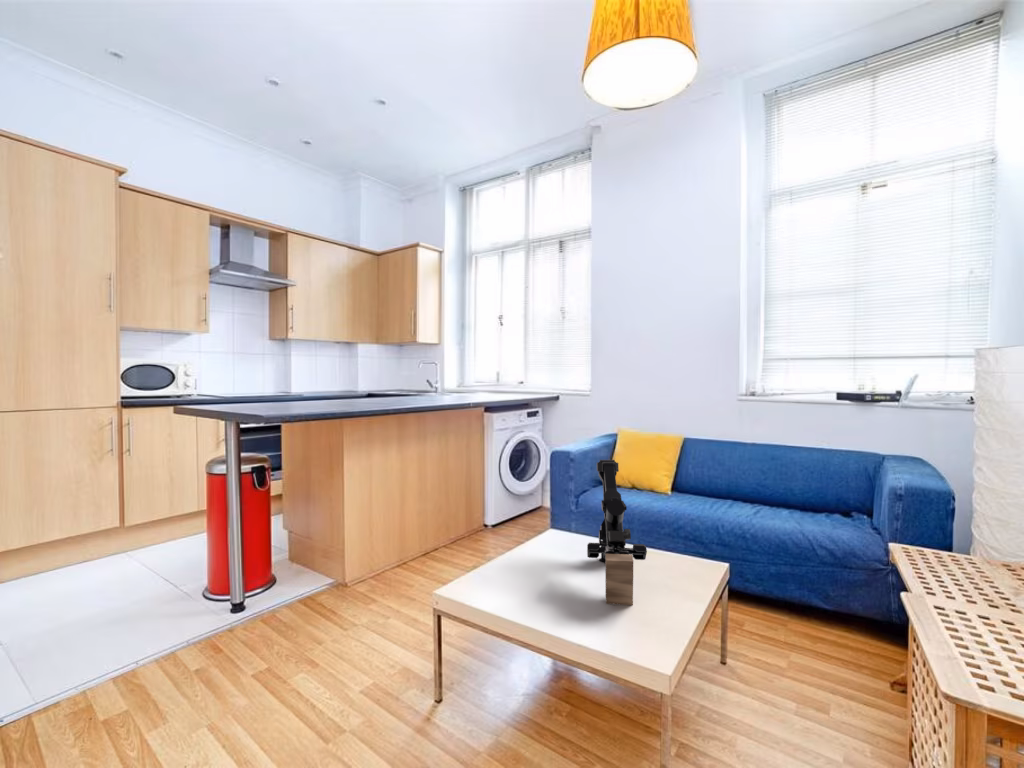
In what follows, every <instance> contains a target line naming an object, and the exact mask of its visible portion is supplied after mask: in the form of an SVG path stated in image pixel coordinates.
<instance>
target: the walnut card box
mask: <svg viewBox="0 0 1024 768" xmlns="http://www.w3.org/2000/svg"><path fill="white" fill-rule="evenodd" d="M605 603H606V605H619V604H620V605H622V606H634V558H633V555H632V554H629V555H628V554H606V562H605Z"/></svg>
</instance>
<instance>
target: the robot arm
mask: <svg viewBox="0 0 1024 768" xmlns="http://www.w3.org/2000/svg"><path fill="white" fill-rule="evenodd" d="M619 470H620V469H619V462H617V461H615V459H599V461H598V462H596V472H598V477H599V478H600V481H601V482H602V498H603V499H602V500H601V504H600V505H601V511H602V512H603V521H602V522H601V524H600V529H599V530H598V542H588V543H587V548H586V552H587V553H586V555H587V558H589V559H597V558H599V557H600V558H599V560H598V561H599V562H602V563H606V554H628V555H632V557H633V560H637V561H638V560H639V561H644V560H646V559H647V552H648V550H647V546H646V545H645V544H641V543H640V544H637V543H633V545H632V547H626V544H627V543H626V541H630V540H631V538H632V535H631V534H632V533H631V529H630V528H624V525H623V523H624V522H623V521H624V515H625V512H626V511H627V510H628V509H627V504H626V503H625V501H624V500H623V499H622V494H621V493H620V492H619V491H618V489H617V487H618V486H617V479H616V476H617V473H618V472H619Z"/></svg>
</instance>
